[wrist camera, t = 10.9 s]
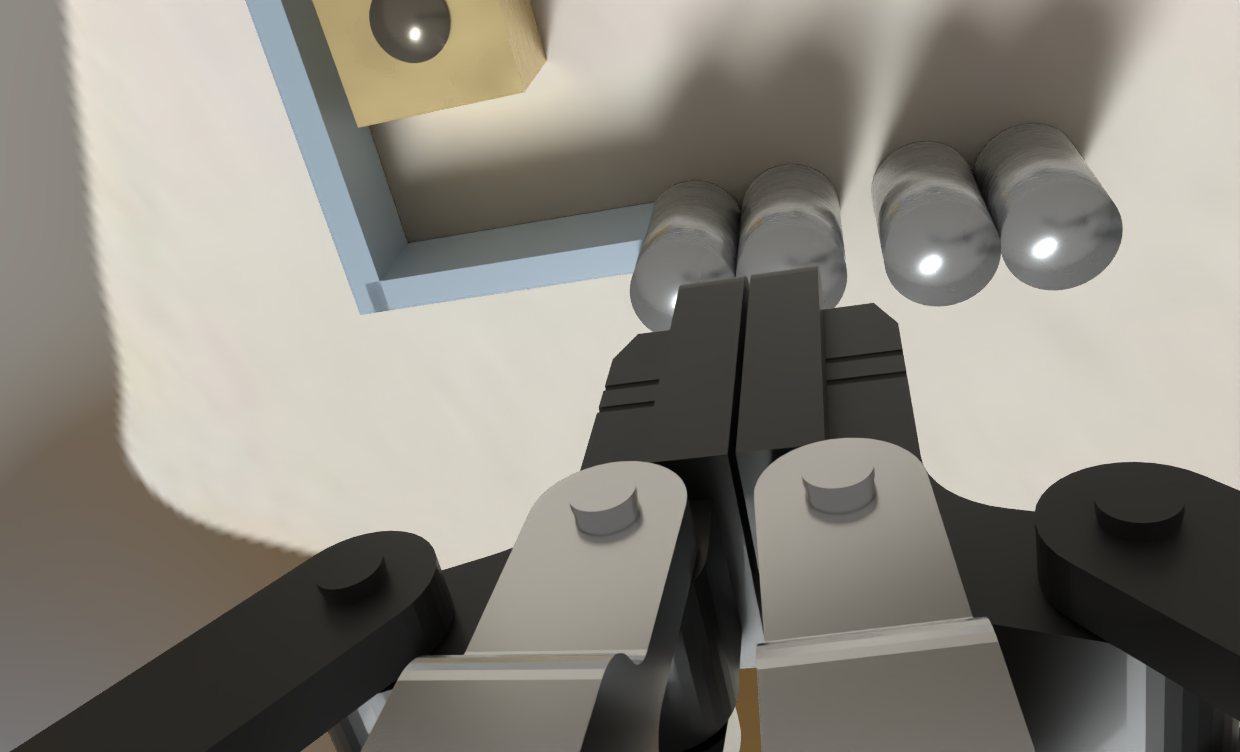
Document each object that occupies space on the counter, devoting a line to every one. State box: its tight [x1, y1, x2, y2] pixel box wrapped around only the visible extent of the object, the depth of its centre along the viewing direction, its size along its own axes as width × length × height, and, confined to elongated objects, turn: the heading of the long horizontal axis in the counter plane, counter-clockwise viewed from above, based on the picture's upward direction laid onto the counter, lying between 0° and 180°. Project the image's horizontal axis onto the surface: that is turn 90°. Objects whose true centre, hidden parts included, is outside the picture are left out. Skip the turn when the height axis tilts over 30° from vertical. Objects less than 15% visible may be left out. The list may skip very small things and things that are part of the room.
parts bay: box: [245, 0, 655, 315], centre depth 32 cm, size 10×16×3 cm, turn 13°
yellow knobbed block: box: [312, 0, 546, 128], centre depth 32 cm, size 5×5×4 cm
